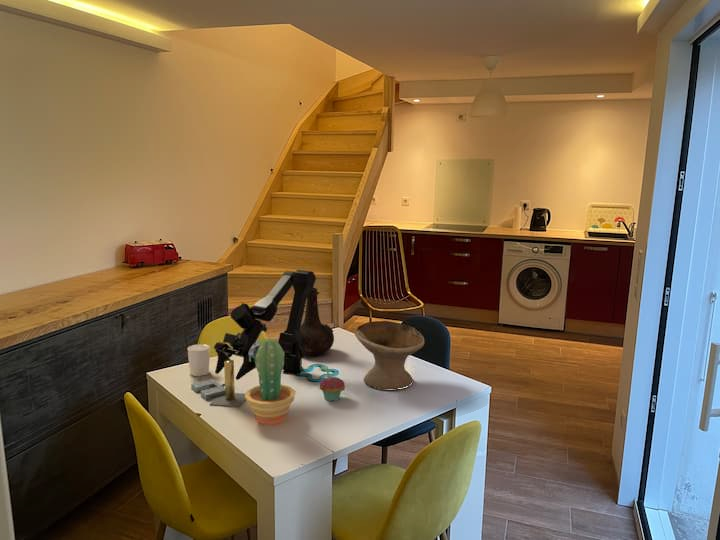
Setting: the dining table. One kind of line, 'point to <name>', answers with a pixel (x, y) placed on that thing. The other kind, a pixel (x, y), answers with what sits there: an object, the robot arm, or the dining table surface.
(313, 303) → the brown vase
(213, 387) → the vise
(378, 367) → the bowl
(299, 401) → the dining table surface
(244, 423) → the dining table surface
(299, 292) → the robot arm
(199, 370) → the white cup
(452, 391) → the dining table surface
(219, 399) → the rubber mat
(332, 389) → the cupcake
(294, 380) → the dining table surface
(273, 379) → the potted cactus
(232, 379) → the brass rod
